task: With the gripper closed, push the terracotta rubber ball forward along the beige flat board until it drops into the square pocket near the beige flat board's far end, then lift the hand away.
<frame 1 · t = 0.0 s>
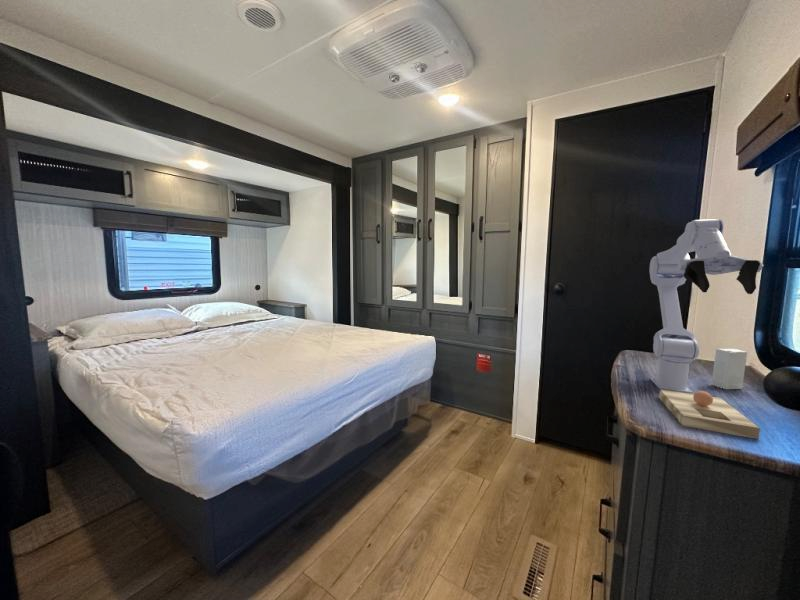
hand: (728, 290, 71), 32 cm above the table, tool tilted 50°, fingers open, 7 cm apart
skincare box: (726, 388, 100), on the table
ball: (703, 398, 80), point 4 cm above the table, touching beige flat board
beige flat board: (701, 415, 80), on the table
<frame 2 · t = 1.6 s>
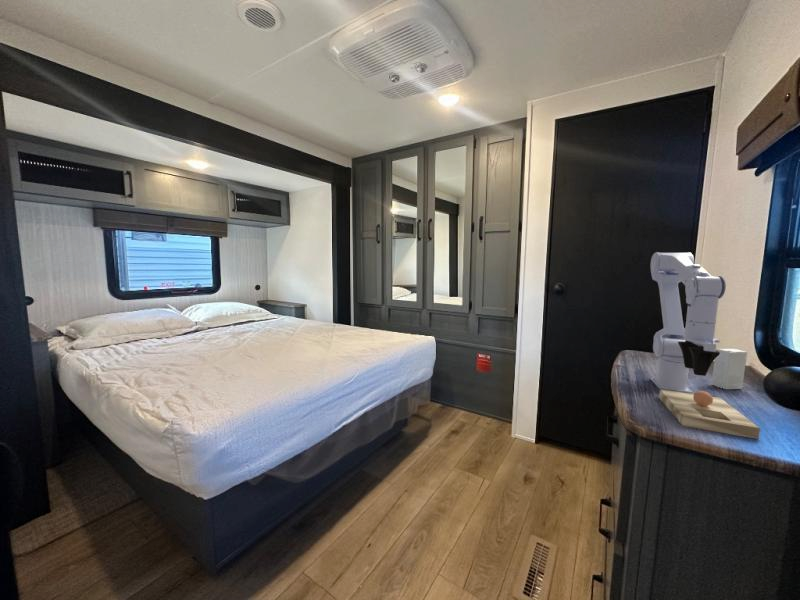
hand: (694, 371, 86), 9 cm above the table, tool pointing down, fingers open, 6 cm apart
nothing on the table moved.
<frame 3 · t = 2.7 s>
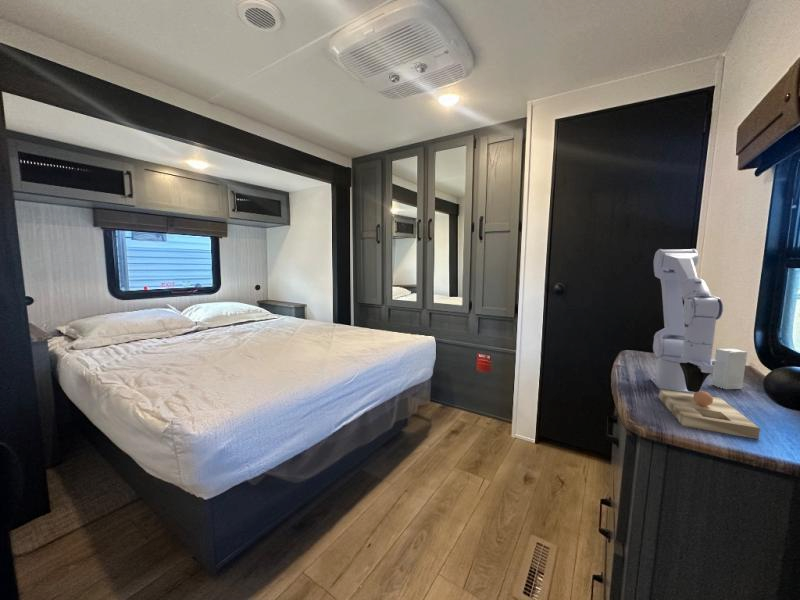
hand: (692, 391, 86), 4 cm above the table, tool pointing down, fingers closed
nothing on the table moved.
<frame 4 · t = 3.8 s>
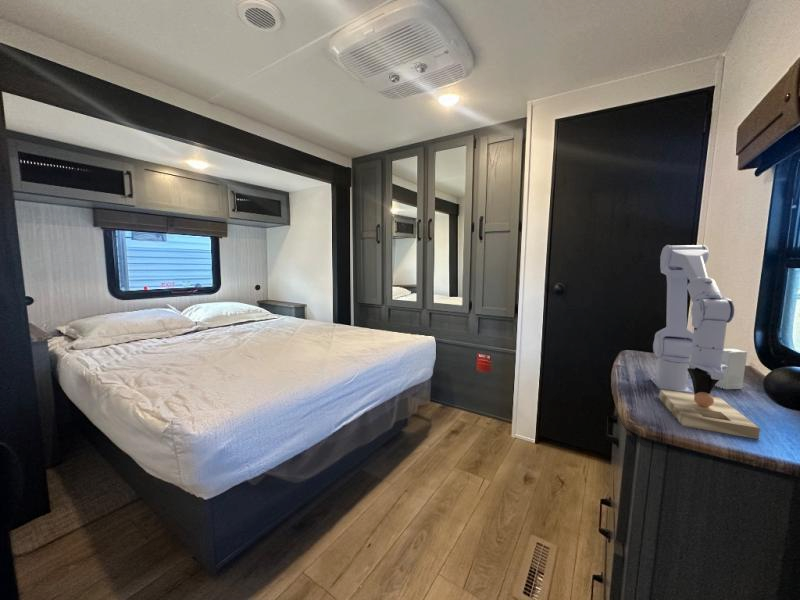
hand: (701, 398, 81), 4 cm above the table, tool pointing down, fingers closed, pressing on ball
ball: (703, 399, 80), point 4 cm above the table, tilted 14°, touching beige flat board, gripper
everything else where it was.
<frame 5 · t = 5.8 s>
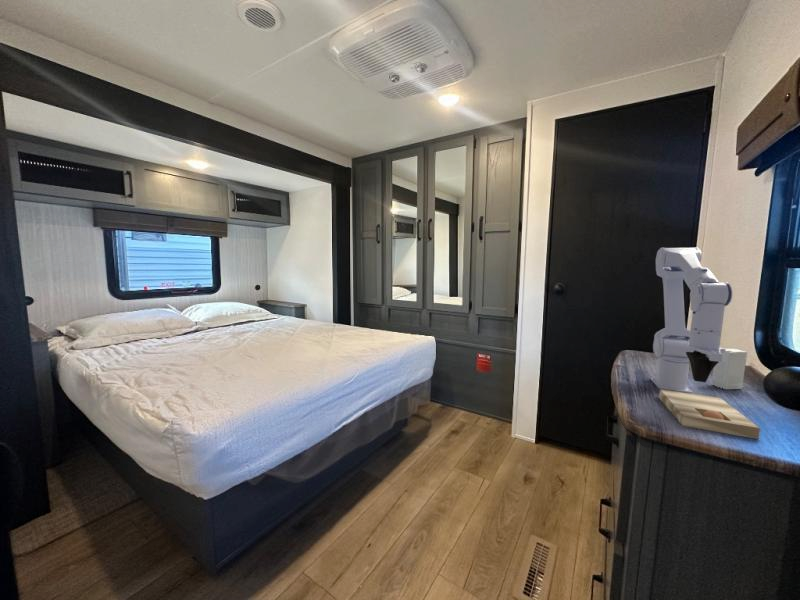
hand: (699, 380, 83), 8 cm above the table, tool pointing down, fingers closed
ball: (713, 418, 75), point 2 cm above the table, tilted 164°
everything else where it was.
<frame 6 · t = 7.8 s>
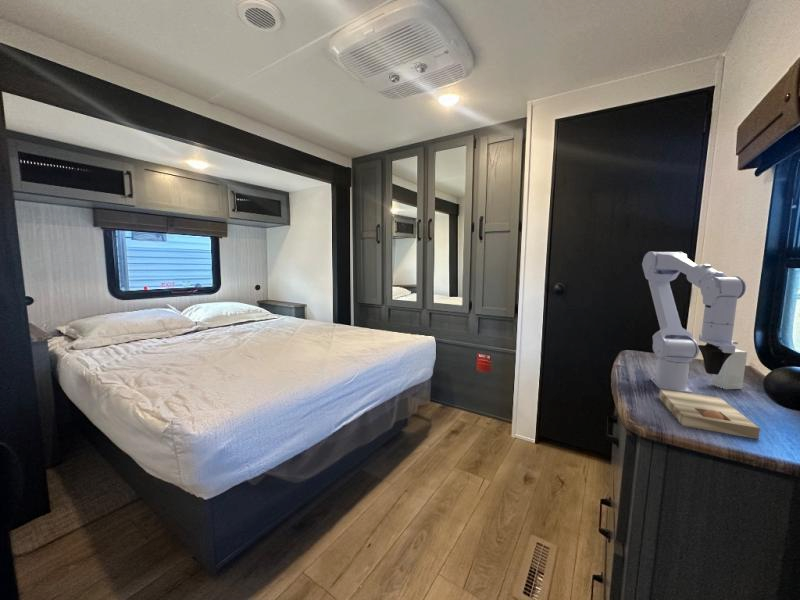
hand: (711, 373, 84), 9 cm above the table, tool pointing down, fingers closed
ball: (712, 417, 75), point 2 cm above the table, tilted 156°
everything else where it was.
at the end: ball 0.4 cm from the target spot on the beige flat board, point 1.8 cm above the beige flat board's base; the gripper is holding nothing; skincare box moved 0.2 cm from its start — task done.
